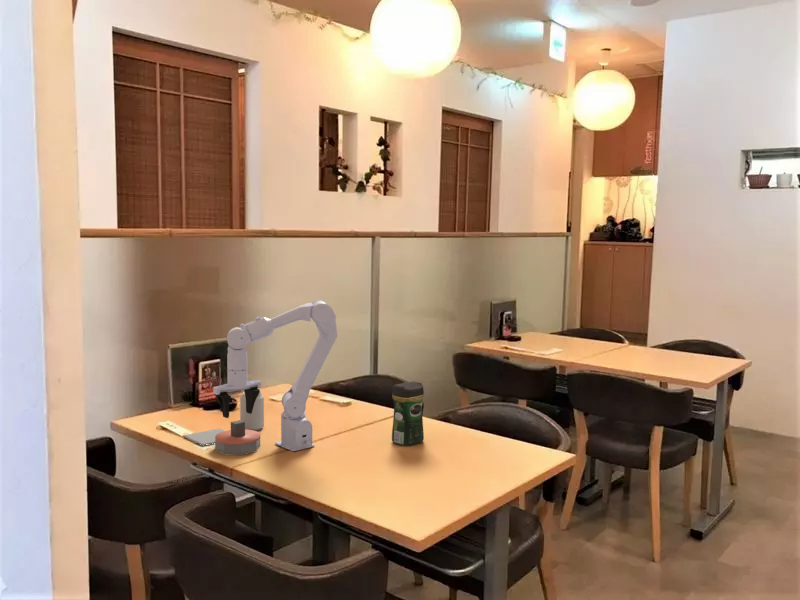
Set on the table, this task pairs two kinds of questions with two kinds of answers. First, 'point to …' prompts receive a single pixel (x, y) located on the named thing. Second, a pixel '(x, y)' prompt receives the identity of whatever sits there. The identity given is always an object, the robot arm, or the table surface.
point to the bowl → (237, 448)
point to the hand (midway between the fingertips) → (237, 415)
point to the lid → (237, 435)
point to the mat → (204, 436)
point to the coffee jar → (407, 413)
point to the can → (256, 417)
